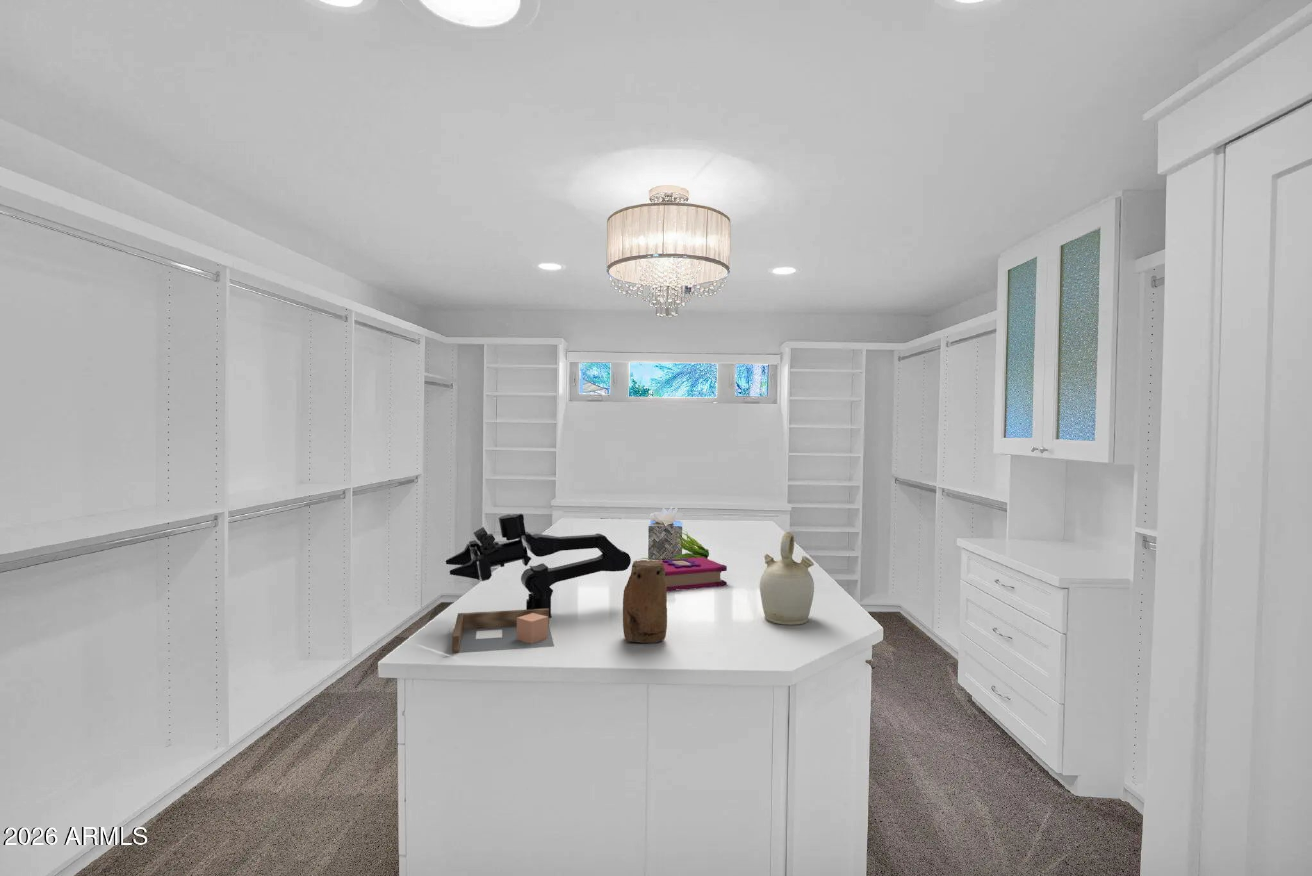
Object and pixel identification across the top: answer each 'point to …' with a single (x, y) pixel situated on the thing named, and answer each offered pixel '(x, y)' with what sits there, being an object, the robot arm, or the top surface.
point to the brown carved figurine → (645, 603)
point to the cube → (532, 628)
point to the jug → (787, 586)
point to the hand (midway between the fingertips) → (447, 567)
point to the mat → (497, 640)
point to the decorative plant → (690, 548)
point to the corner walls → (488, 621)
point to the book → (692, 573)
